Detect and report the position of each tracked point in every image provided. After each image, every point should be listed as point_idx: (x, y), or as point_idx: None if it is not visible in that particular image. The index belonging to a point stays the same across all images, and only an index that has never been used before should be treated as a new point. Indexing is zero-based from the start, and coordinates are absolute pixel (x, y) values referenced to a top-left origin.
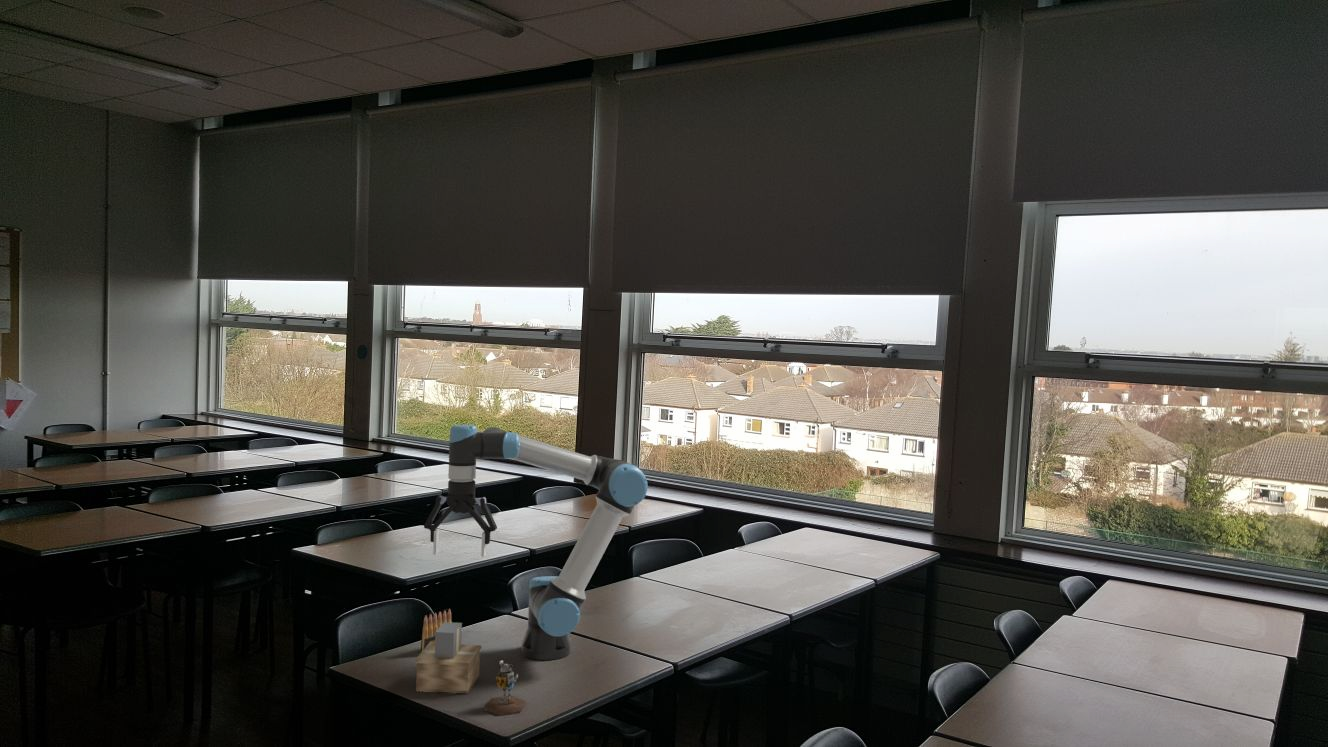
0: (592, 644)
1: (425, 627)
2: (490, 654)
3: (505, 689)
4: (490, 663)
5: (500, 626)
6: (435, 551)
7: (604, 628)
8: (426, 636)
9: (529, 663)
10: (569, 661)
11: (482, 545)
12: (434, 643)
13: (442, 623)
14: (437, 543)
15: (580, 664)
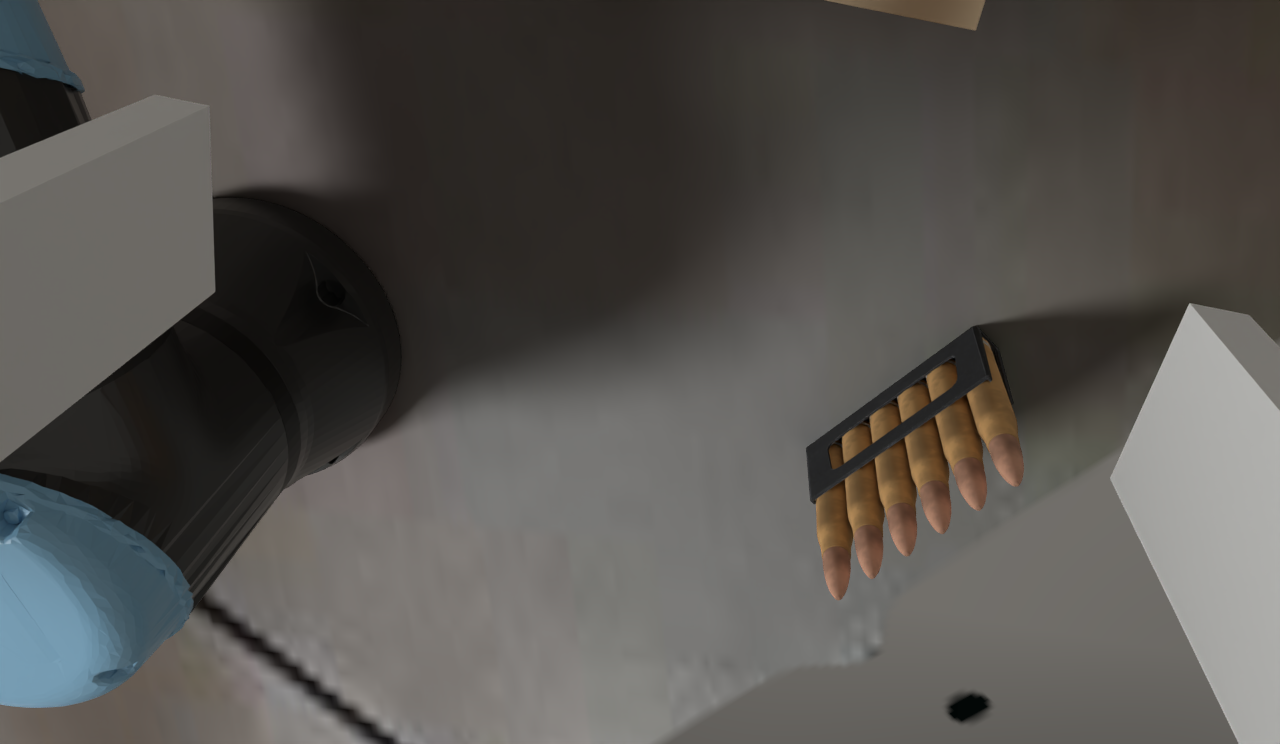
0: None
1: (1001, 424)
2: (574, 318)
3: None
4: (558, 172)
5: (563, 706)
6: (1228, 334)
7: None
8: (982, 392)
9: (326, 156)
10: None
11: (36, 166)
12: (934, 12)
13: (879, 512)
14: (1235, 506)
15: None
